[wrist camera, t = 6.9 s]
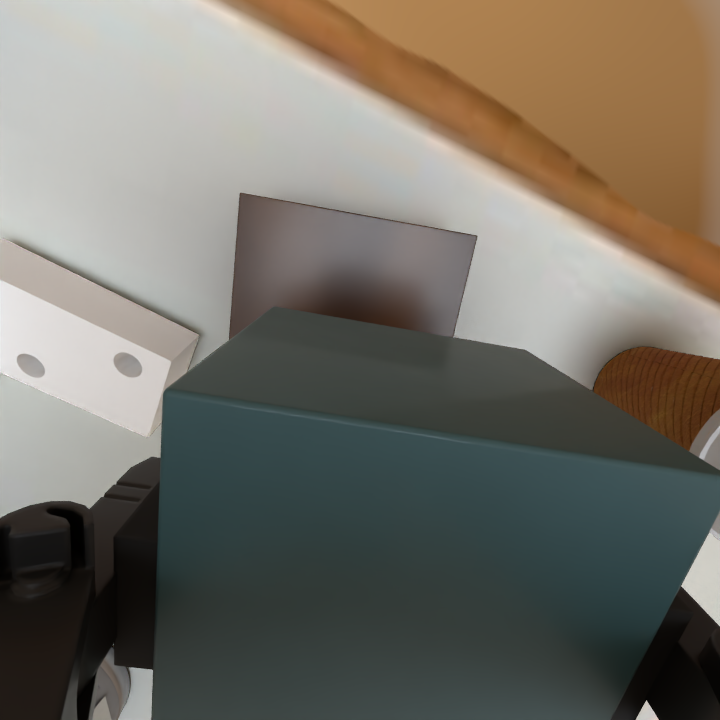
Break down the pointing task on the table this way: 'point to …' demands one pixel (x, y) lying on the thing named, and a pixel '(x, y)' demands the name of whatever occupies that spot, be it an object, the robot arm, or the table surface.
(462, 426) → the slate-teal block
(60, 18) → the table surface
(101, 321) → the bracket
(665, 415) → the disposable coffee cup
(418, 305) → the mauve-gray square block
